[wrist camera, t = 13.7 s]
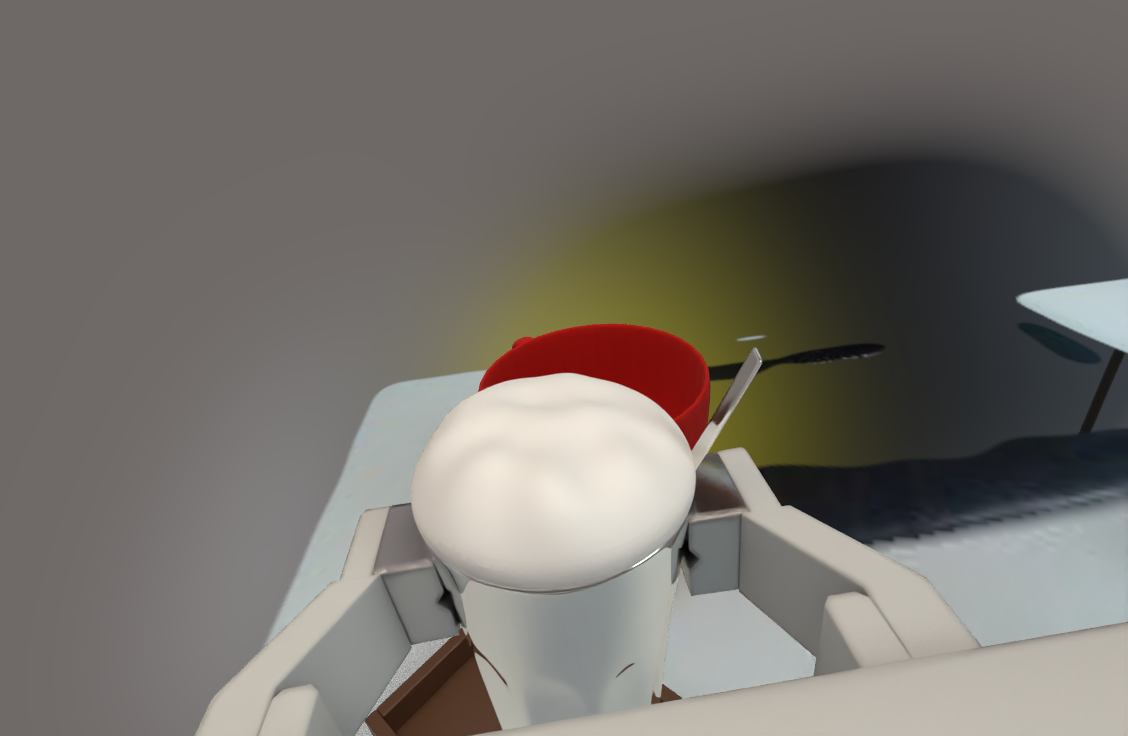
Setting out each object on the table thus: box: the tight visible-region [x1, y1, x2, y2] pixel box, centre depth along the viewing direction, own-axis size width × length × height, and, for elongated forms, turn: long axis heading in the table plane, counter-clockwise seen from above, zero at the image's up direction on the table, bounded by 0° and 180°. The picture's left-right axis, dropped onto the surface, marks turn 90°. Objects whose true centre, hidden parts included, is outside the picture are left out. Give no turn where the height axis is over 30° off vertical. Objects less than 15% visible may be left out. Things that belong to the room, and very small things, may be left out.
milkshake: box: [411, 348, 762, 730], centre depth 10 cm, size 5×5×10 cm
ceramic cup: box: [478, 324, 710, 451], centre depth 35 cm, size 13×17×10 cm
